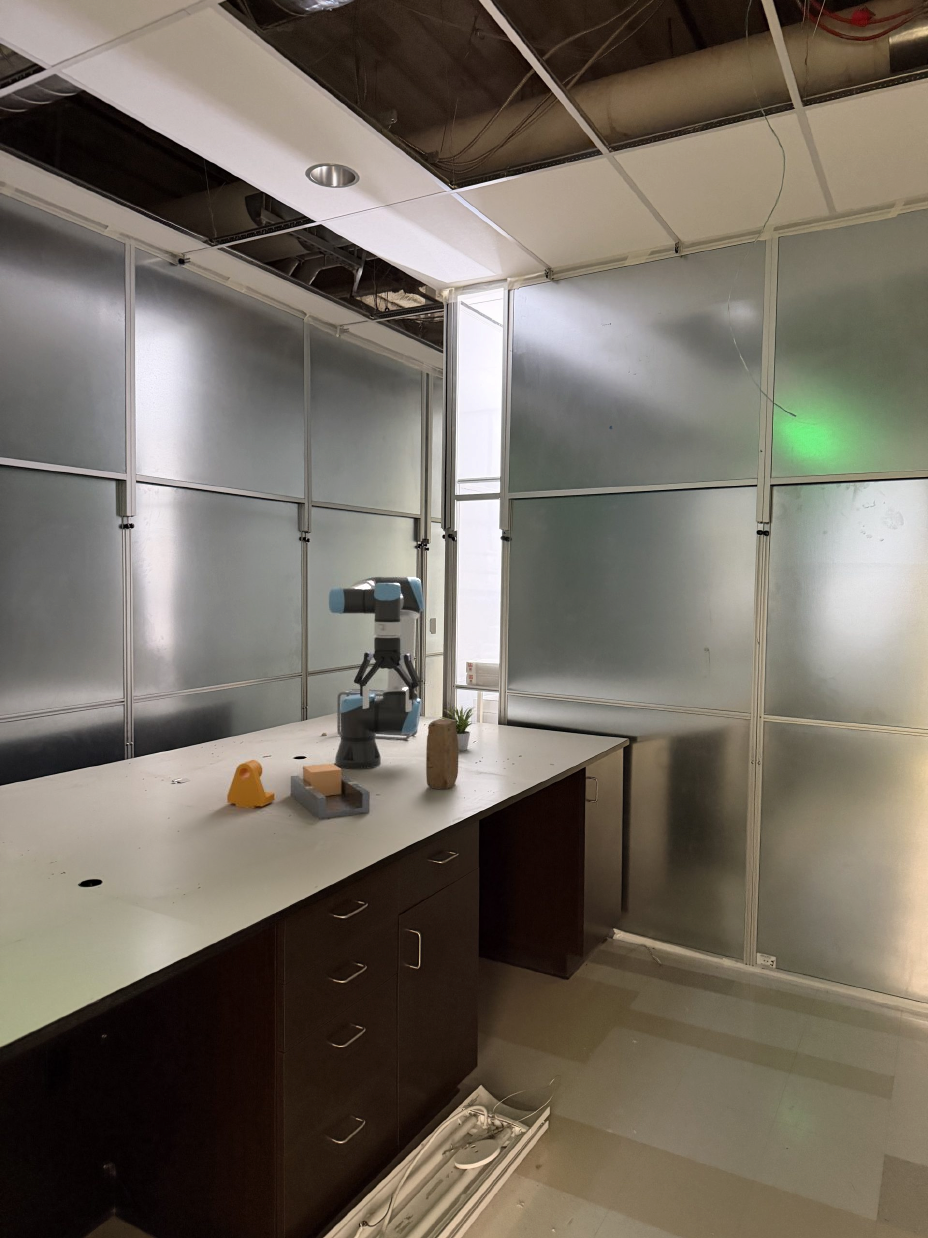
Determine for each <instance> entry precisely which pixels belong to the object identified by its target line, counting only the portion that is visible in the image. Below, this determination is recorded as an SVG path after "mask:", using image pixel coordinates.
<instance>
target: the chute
mask: <svg viewBox="0 0 928 1238" xmlns="http://www.w3.org/2000/svg"><path fill="white" fill-rule="evenodd" d="M370 795H371V793H370V791H368V789H366V788H364V787H362V786H361V785H360V784H357V782H356V781H354V780H352V779H350V778H348V777H347V776H345V775H344V774H343V773H341V794H337V795H329V796H324V795H322V794H321V793H320V792H318V791H317V790H316V789H315V788H314V787H313V786H311V785H309V784H308V783H307V782H305V781H304V780H303V777H302V778H301V777H300V776H299V775H291V776H290V796H291V797H292V796H293V797H294V798H293V797H292V798H293V799H295V800H296V801H297V802H298V803H299V804H300V805H301V806H302V807H304V809H306V810H307V811H308V812H310V814H312V815H313V816H314V817H315V816H316V817H315V818H316V819H318V820H325V819H330V818H331V817H332V818H339V816H340V817H344V816H345V817H346V815H347V816H353V814H355V815H361V813H363V814H369V812H370V811H371V810H370V807H371V806H370V805H371V804H370V802H371V801H370Z"/></svg>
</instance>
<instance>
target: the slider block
mask: <svg viewBox="0 0 928 1238" xmlns="http://www.w3.org/2000/svg"><path fill="white" fill-rule="evenodd" d="M341 774H342V769H341V767H338V766H336V765H335V763H324V764H314V765H303V767H302V778H303V780H304V781H305V782H307V783H308V784H309V785H311V786H313V787H314V788H315V789H316V790H317V791H318V792H320V793H321V794H322V795H324V796H329V795H337V794H341Z"/></svg>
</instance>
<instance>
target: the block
mask: <svg viewBox="0 0 928 1238" xmlns="http://www.w3.org/2000/svg"><path fill="white" fill-rule="evenodd" d="M427 730H428V732H427V735H426V759H425V761H426V763H425V765H426V766H425V770H426V773H425V775H426V785H427V787H429V788H430V789H431V788H432V789H435V790H447V789H448V790H449V789H451V788H453V787H454V786H455V784H456V782H457V780H458V776H459V775H458V774H459V751H458V736H457V732H456V723H455V720H454V719H451V718H448V719H442V718H438V719H435V720H433V721H431V722H430V723H428V726H427Z"/></svg>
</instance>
